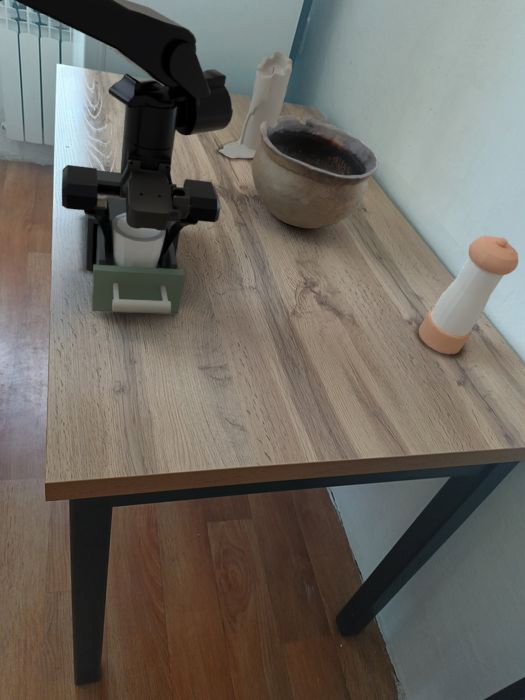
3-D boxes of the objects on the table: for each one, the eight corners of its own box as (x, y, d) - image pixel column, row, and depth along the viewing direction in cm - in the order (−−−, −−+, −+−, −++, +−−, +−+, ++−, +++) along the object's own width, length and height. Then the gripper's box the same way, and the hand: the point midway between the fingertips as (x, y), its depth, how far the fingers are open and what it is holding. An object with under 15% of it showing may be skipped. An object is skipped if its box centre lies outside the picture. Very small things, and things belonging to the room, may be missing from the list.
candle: (212, 147, 117) (230, 48, 104) (254, 138, 126) (276, 46, 113) (235, 162, 114) (257, 63, 101) (276, 152, 124) (301, 60, 110)
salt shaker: (463, 359, 85) (533, 260, 72) (419, 346, 84) (482, 244, 71) (458, 330, 90) (523, 234, 77) (417, 318, 90) (475, 218, 77)
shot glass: (165, 284, 73) (172, 240, 69) (114, 286, 70) (117, 241, 66) (153, 254, 78) (159, 211, 73) (104, 254, 75) (107, 210, 70)
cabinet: (173, 274, 82) (181, 226, 76) (86, 269, 78) (87, 218, 72) (163, 224, 91) (170, 178, 85) (85, 218, 87) (86, 168, 81)
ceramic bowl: (295, 179, 116) (316, 109, 106) (371, 232, 107) (403, 162, 97) (218, 197, 102) (235, 119, 92) (299, 260, 93) (327, 181, 83)
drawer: (182, 338, 71) (190, 298, 67) (92, 336, 68) (94, 295, 63) (168, 260, 83) (173, 221, 78) (90, 255, 79) (91, 214, 74)
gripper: (60, 161, 53) (61, 285, 64) (240, 183, 59) (214, 292, 70) (62, 114, 61) (62, 232, 71) (222, 138, 67) (201, 243, 77)
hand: (136, 251), depth 72 cm, fingers closed on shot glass, 6 cm apart
